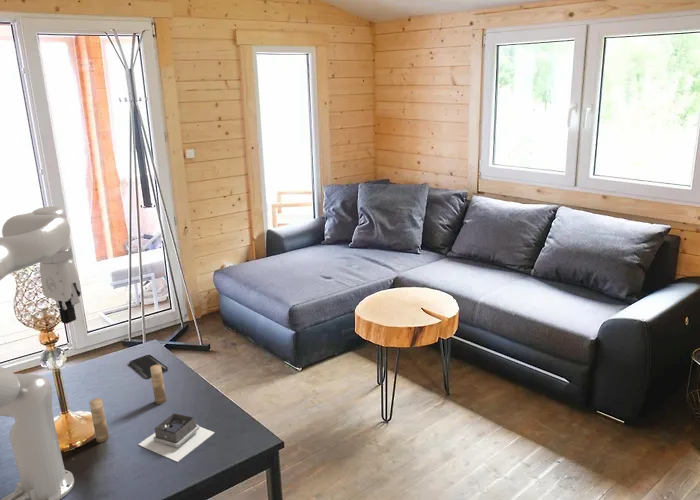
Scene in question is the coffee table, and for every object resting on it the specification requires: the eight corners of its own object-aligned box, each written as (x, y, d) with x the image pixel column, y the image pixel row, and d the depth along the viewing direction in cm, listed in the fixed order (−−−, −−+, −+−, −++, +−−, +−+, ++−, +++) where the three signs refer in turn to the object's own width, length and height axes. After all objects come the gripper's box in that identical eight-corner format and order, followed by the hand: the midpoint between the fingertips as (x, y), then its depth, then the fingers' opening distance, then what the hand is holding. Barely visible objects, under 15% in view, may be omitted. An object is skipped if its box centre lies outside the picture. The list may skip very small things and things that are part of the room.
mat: (177, 462, 149) (177, 461, 149) (138, 444, 156) (138, 444, 156) (214, 432, 160) (214, 432, 160) (176, 418, 167) (176, 417, 167)
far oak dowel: (160, 405, 174) (155, 370, 170) (153, 402, 175) (147, 368, 172) (168, 400, 176) (163, 366, 173) (161, 397, 178) (156, 363, 174)
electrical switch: (151, 441, 157) (178, 452, 153) (150, 425, 155) (176, 437, 151) (175, 421, 165) (200, 432, 161) (174, 407, 163) (200, 417, 159)
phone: (149, 354, 204) (169, 368, 194) (149, 356, 204) (169, 371, 194) (127, 362, 199) (147, 377, 188) (128, 364, 199) (147, 380, 189)
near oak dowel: (101, 443, 157) (94, 405, 153) (93, 440, 158) (86, 403, 154) (111, 437, 159) (104, 400, 156) (103, 434, 161) (96, 397, 157)
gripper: (24, 255, 145) (38, 321, 151) (60, 264, 138) (74, 332, 143) (52, 247, 151) (64, 310, 157) (88, 255, 144) (99, 321, 150)
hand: (69, 321), depth 150 cm, fingers closed
